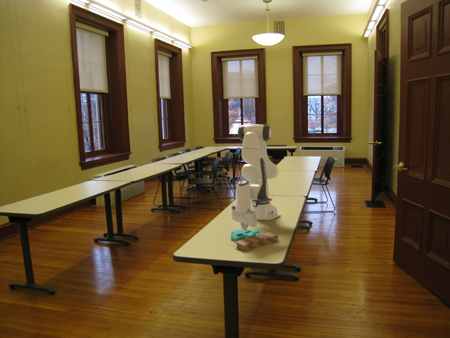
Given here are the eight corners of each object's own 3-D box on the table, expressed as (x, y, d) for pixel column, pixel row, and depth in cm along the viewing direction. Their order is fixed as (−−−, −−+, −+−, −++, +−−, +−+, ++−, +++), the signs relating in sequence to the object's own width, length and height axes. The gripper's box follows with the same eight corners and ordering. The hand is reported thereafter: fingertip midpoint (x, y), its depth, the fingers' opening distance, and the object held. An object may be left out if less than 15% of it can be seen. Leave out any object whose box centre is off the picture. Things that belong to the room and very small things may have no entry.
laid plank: (268, 237, 218) (268, 231, 218) (278, 240, 212) (278, 235, 212) (234, 247, 203) (234, 241, 203) (243, 251, 197) (243, 245, 196)
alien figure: (270, 237, 219) (246, 230, 234) (270, 233, 219) (246, 227, 234) (247, 245, 206) (223, 237, 221) (247, 242, 206) (223, 234, 220)
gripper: (259, 210, 211) (260, 233, 213) (237, 203, 227) (238, 225, 230) (251, 212, 208) (251, 235, 210) (229, 205, 224) (230, 227, 226)
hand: (244, 230), depth 220 cm, fingers closed
